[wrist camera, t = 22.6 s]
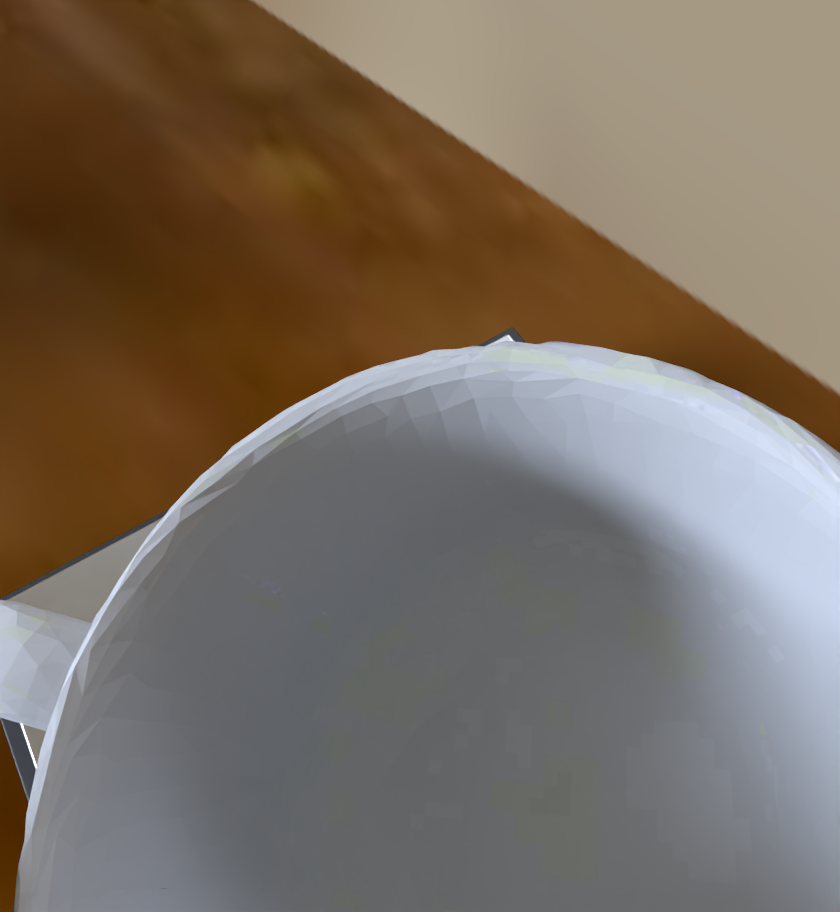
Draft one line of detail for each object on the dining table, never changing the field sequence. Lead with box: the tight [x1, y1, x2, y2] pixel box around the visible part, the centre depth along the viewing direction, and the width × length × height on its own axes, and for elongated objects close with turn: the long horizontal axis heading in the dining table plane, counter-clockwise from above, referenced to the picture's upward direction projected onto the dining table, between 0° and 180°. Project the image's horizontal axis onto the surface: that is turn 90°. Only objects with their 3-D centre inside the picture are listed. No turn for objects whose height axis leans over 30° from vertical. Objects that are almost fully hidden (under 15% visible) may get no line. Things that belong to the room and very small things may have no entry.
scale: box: [0, 328, 526, 803], centre depth 19 cm, size 16×16×4 cm
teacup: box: [0, 341, 840, 912], centre depth 12 cm, size 14×11×8 cm
